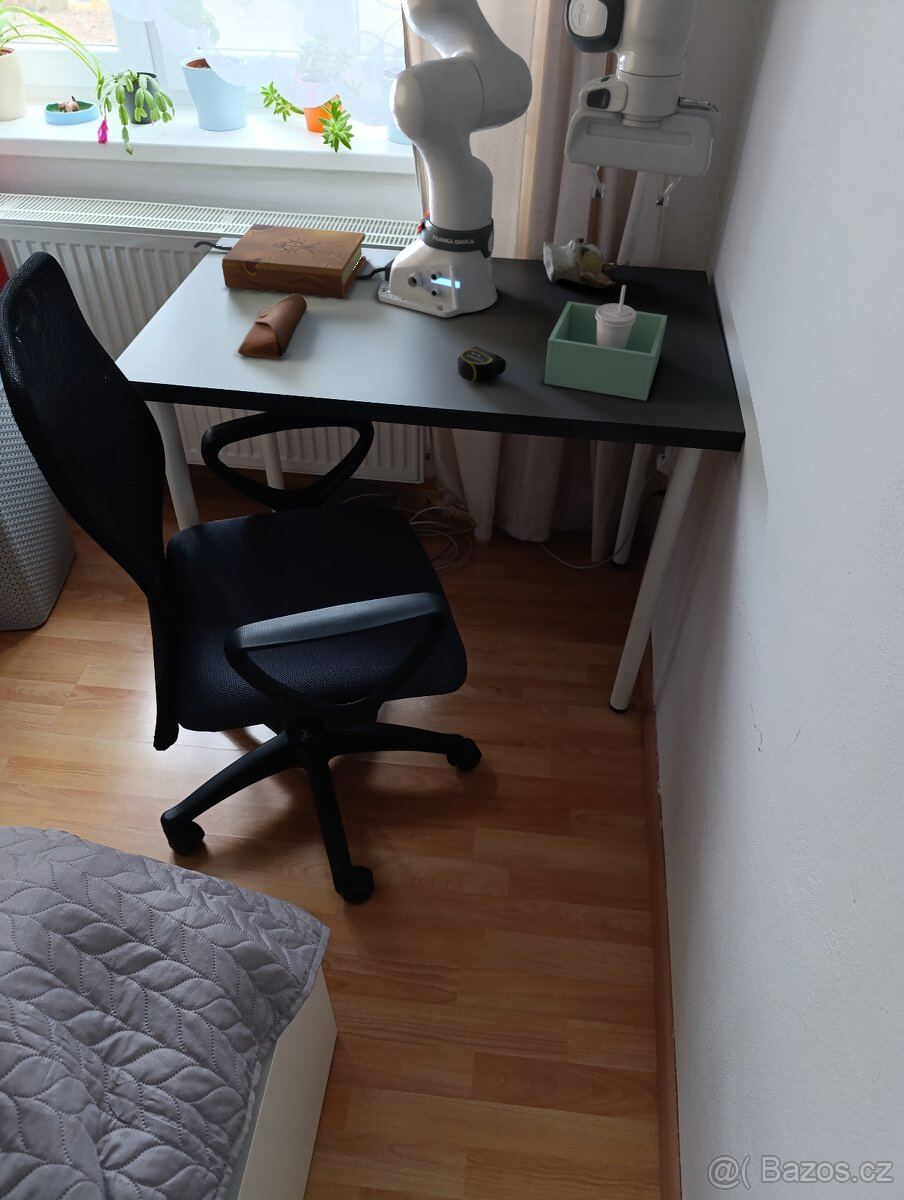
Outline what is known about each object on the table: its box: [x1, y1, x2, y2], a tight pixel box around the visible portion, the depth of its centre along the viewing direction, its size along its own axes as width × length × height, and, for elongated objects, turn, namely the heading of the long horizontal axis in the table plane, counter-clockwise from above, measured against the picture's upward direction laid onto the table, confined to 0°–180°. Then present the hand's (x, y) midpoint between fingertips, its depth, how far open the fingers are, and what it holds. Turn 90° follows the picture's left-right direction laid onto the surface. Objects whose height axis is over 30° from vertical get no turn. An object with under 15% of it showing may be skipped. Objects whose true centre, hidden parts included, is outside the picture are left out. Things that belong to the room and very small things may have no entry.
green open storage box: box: [544, 300, 668, 401], centre depth 136 cm, size 17×15×8 cm
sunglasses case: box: [237, 293, 308, 361], centre depth 145 cm, size 18×7×7 cm, turn 175°
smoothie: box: [595, 284, 636, 349], centre depth 133 cm, size 6×6×14 cm
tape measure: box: [457, 345, 507, 384], centre depth 135 cm, size 7×7×4 cm
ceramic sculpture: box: [542, 237, 619, 289], centre depth 160 cm, size 11×9×15 cm
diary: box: [221, 223, 367, 299], centre depth 162 cm, size 23×19×6 cm
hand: (629, 201), depth 121 cm, fingers open, 8 cm apart
